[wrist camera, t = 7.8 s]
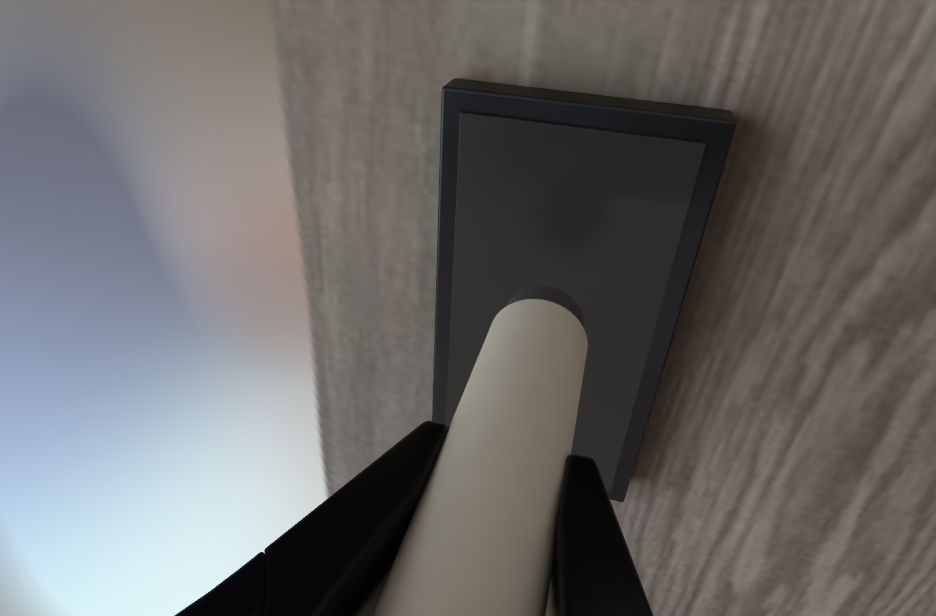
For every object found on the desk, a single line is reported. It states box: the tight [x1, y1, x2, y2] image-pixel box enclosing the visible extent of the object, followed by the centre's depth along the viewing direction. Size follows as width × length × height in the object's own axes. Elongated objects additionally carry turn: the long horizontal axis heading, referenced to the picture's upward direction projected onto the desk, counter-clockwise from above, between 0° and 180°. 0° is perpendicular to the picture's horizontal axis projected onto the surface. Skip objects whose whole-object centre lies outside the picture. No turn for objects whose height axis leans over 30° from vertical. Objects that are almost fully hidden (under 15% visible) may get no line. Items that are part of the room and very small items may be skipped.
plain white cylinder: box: [372, 286, 588, 616], centre depth 9 cm, size 2×2×10 cm
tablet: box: [432, 79, 736, 502], centre depth 17 cm, size 12×6×1 cm, turn 177°
